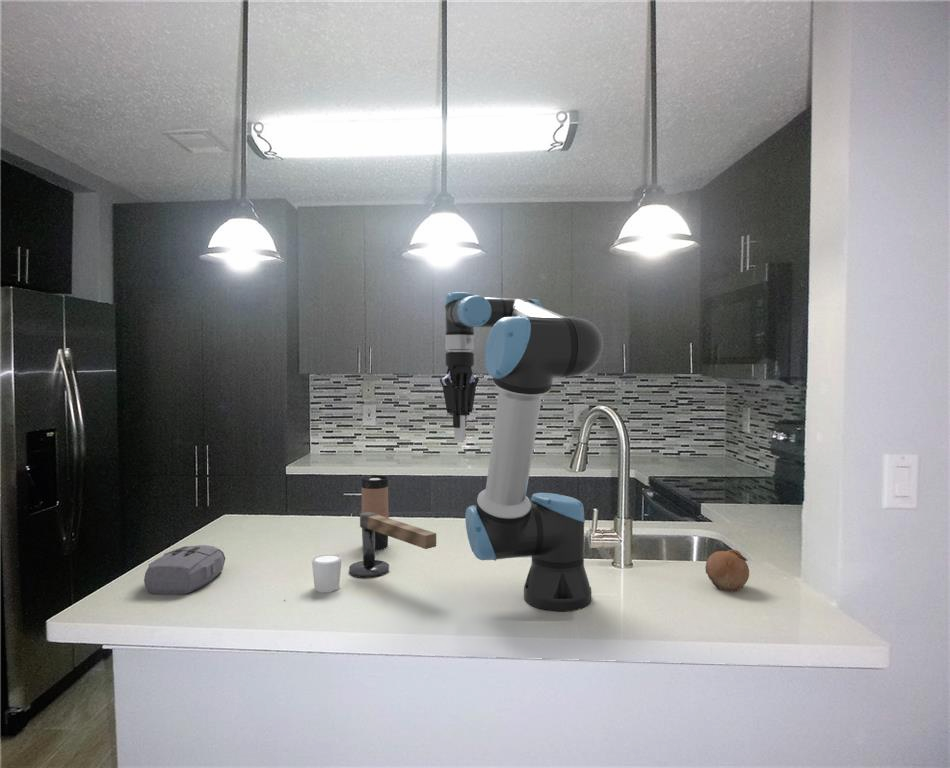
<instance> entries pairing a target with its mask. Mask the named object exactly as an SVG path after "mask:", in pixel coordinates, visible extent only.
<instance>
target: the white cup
mask: <svg viewBox="0 0 950 768" xmlns="http://www.w3.org/2000/svg"><path fill="white" fill-rule="evenodd" d="M311 566H312V577H313V583H314V584H313V585H314V586H313V587H314V590H315V592H319V593H333V592H334V591H337V590H339V589H340V585H341V584H340V582H341V570H342V556H340V555H337V554H321V555H318V556H315V557H313V558H312V559H311Z"/></svg>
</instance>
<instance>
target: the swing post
mask: <svg viewBox="0 0 950 768" xmlns="http://www.w3.org/2000/svg"><path fill="white" fill-rule="evenodd" d="M389 571H390V564H389V563H388V562H387V561H384V560H379V559H376V550H375V531H373V530H370V529H367V528H363V541H362V560H360V561H356V562H353V563H352V564H350V565H349V566H348V574H350V575H351V576H353V577H354V578H355V577H356V578H363V579H365V578H366V579H369V578H377V577H381V576H384V575H386V574H387V573H389Z"/></svg>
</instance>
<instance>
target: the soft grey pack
mask: <svg viewBox="0 0 950 768" xmlns="http://www.w3.org/2000/svg"><path fill="white" fill-rule="evenodd" d="M225 556H226V555H225V553H224V552H223V550H221V549H220V548H218V547H215V546H213V545H206V544H205V545H204V544H199V545H189V546H181V547H178V548H176V549H172V550H171V551H170V550H169V551H168V552H166V553H164V554H163V555H162V556H160V557H159V558H156V559H155V560H153V561H152V562H150V563H149V564H148V567H147V569H146V571H145V572H144V573H145V574H144V579H143V581H144V586H145V589H146V590H147V591H148V592H149V593H151V594H155V595H166V596H169V595H170V596H173V595H176V596H177V595H178V596H179V595H185V594H189V593H192V592H194V591H196V590H199V589H201V588H202V587H204V586H206V585H208V584H210V583H211V582H212V581H213V580H214V579H215V578H216V577H217V576H218V575H219V574H220V573H221V572H222V571H223V570H224V567H225V562H226V557H225Z"/></svg>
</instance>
